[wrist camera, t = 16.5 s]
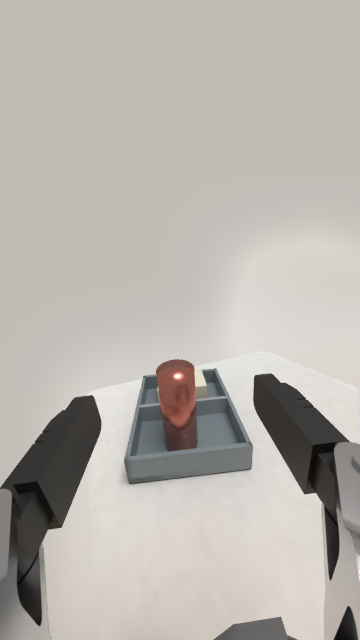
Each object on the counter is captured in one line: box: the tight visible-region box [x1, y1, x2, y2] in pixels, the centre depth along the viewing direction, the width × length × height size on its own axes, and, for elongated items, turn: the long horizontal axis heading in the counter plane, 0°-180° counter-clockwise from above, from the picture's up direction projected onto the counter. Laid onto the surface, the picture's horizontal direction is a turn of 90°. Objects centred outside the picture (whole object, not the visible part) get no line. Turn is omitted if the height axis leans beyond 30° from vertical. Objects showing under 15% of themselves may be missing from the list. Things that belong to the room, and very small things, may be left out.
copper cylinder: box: [156, 360, 198, 452], centre depth 28 cm, size 6×6×14 cm
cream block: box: [157, 369, 207, 403], centre depth 39 cm, size 10×6×5 cm, turn 94°
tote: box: [124, 369, 253, 484], centre depth 35 cm, size 18×20×4 cm
